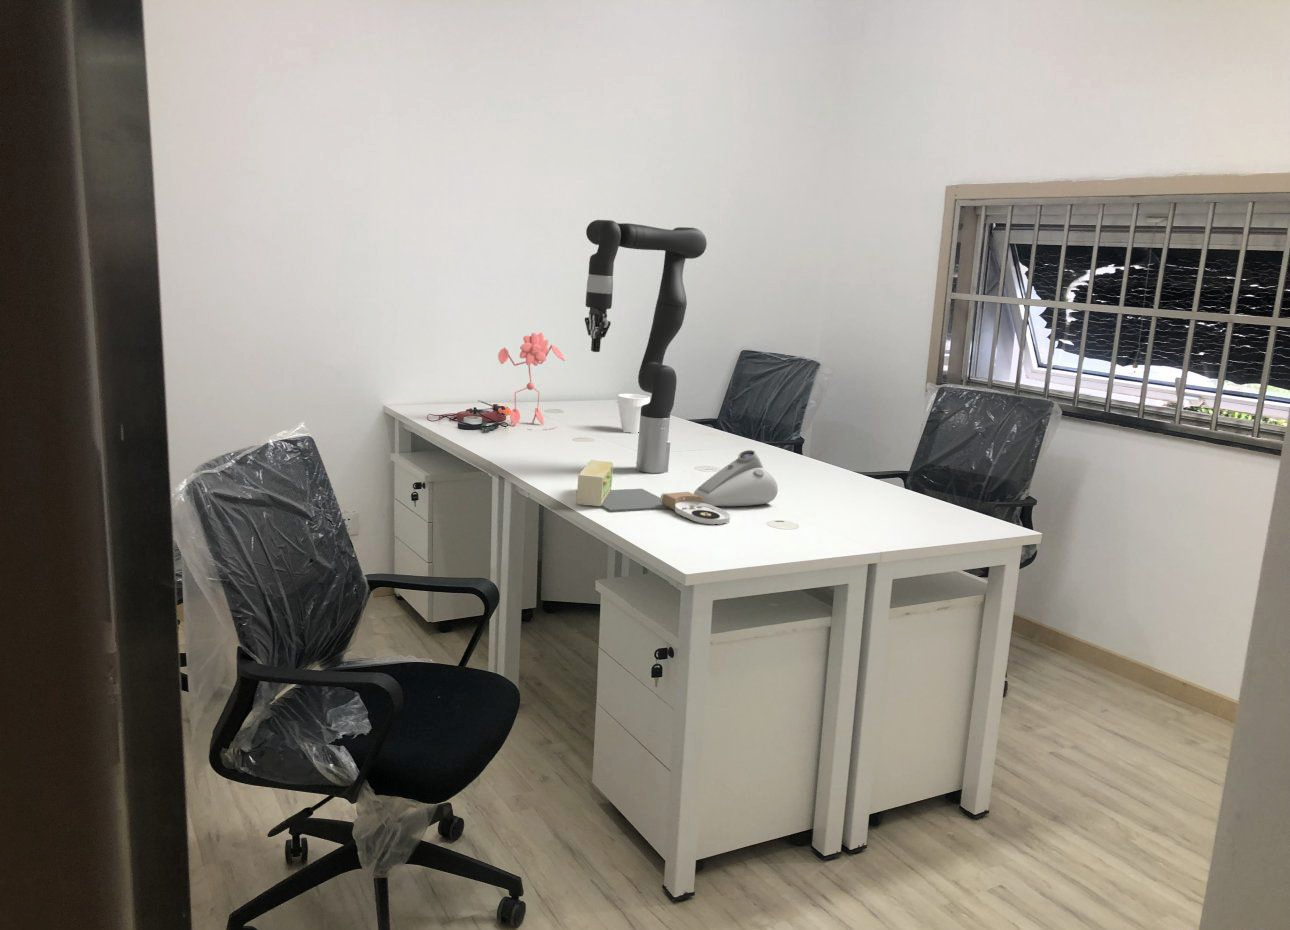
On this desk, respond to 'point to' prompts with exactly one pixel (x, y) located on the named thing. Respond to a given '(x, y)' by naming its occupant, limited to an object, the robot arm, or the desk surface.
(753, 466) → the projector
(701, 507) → the record player
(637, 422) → the cup
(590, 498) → the toy refrigerator
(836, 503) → the desk surface
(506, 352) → the figurine
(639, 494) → the mat
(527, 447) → the desk surface
